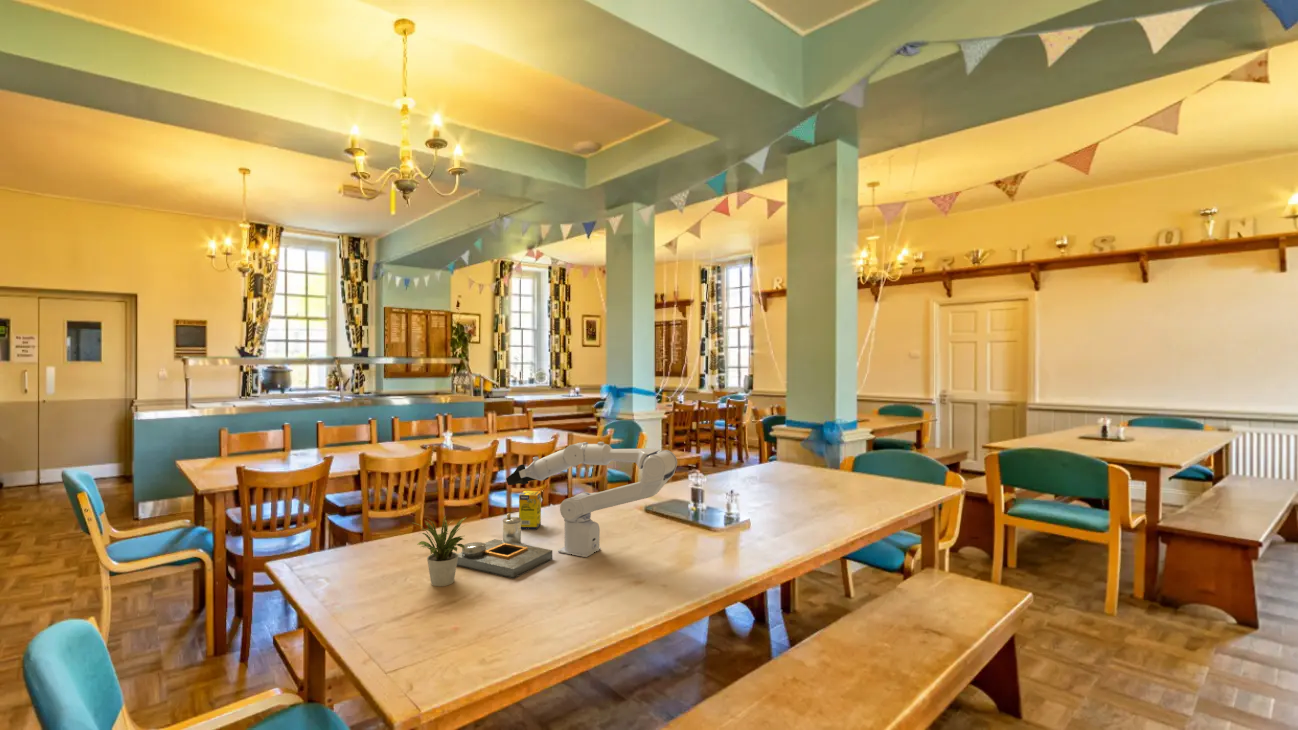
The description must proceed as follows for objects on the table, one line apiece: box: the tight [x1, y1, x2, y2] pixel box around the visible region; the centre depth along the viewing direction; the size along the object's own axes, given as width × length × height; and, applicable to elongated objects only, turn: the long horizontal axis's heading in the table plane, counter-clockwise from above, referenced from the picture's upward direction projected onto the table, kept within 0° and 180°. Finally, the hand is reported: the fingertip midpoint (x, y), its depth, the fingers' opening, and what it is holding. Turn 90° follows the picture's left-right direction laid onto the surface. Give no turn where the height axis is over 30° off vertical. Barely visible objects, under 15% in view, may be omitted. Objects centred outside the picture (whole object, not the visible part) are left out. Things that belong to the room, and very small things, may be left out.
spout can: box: [502, 512, 522, 544], centre depth 171 cm, size 5×5×9 cm
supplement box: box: [518, 490, 542, 530], centre depth 188 cm, size 6×6×11 cm
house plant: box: [413, 514, 469, 587], centre depth 140 cm, size 14×14×16 cm
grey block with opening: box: [456, 538, 553, 580], centre depth 155 cm, size 20×16×4 cm
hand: (516, 480), depth 173 cm, fingers open, 7 cm apart
